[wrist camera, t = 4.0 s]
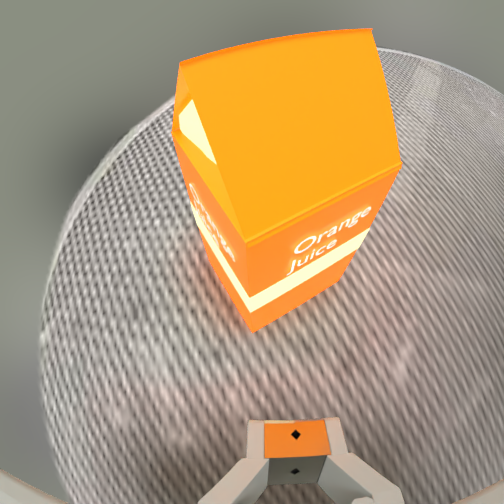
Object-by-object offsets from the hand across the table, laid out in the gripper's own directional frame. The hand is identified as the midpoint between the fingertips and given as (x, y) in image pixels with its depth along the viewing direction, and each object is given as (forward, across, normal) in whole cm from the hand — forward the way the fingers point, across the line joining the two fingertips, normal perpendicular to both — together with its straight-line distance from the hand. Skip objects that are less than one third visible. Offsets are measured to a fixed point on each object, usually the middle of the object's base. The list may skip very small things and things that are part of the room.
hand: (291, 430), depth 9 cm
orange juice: (+18, 0, +1) cm, 18 cm away
